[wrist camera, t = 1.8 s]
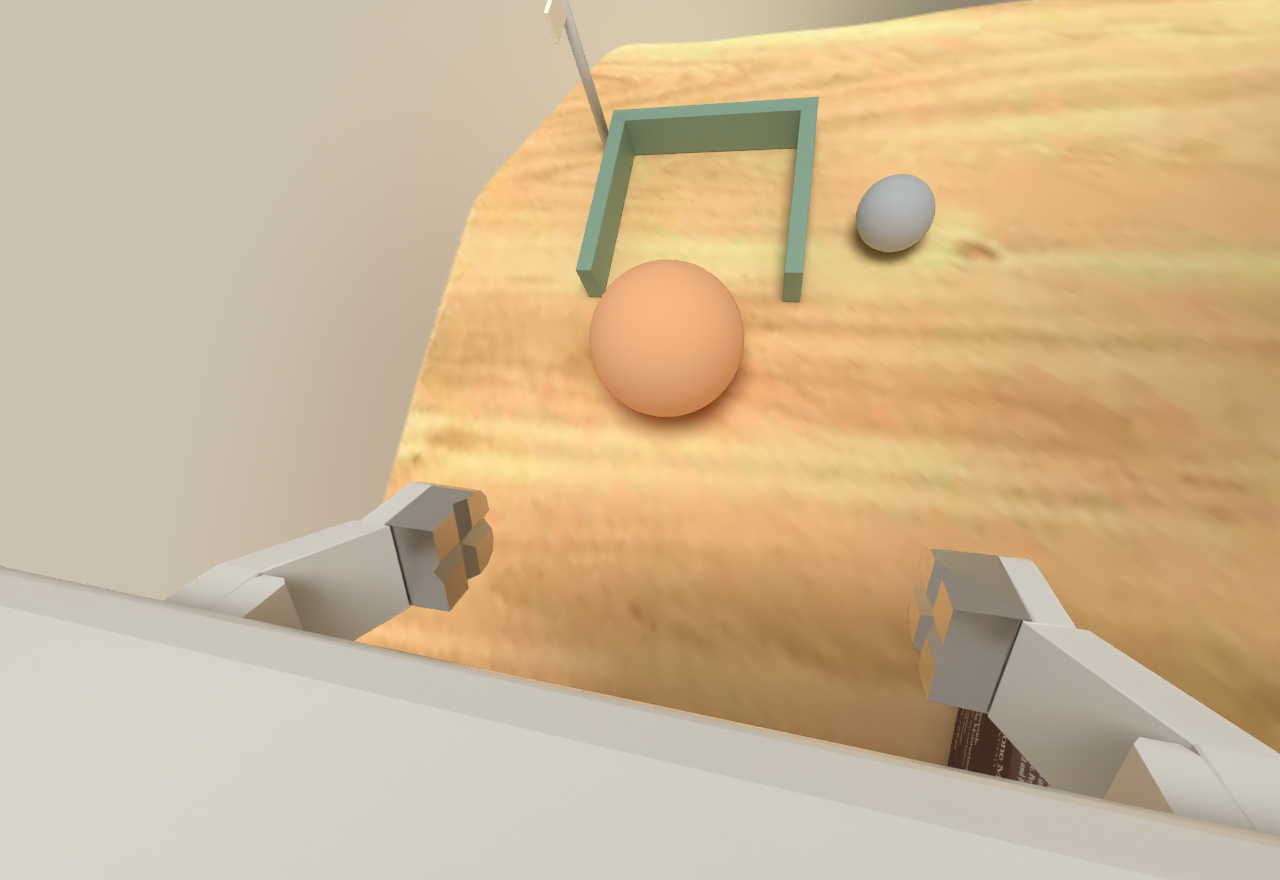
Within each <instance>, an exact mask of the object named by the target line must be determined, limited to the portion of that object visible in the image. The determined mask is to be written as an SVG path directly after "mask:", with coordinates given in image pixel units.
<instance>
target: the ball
mask: <svg viewBox="0 0 1280 880" xmlns="http://www.w3.org/2000/svg"><path fill="white" fill-rule="evenodd" d="M743 349H744V327H743V322H742V317H741V314H740V311H739V308H738V306H737V304H736V302H735V300H734V298H733V296H732V295H731V293H730V292H729V290H728V289H727V288H726V287H725V286H724V285H723V283H722V282H721V281H720V280H719V279H717V278H716V277H715V276H714V275H712V274H711V273H709V272H708V271H706V270H705V269H703V268H701V267H699V266H697V265H694V264H691V263H688V262H683V261H678V260H657V261H651V262H647V263H644V264H641V265H638V266H636V267H634V268H632V269H630V270H628V271H627V272H625V273H624V274H622V275H621V276H620V277H618V278H617V279H616V280H615V281H614V282H613V283H612V284H611V285H610V286H609V287H608V289H607V290H606V291H605V293H604V294H603V295H602V297H601V299H600V300H599V302H598V304H597V306H596V309H595V311H594V314H593V318H592V321H591V326H590V351H591V357H592V361H593V364H594V367H595V369H596V371H597V373H598V375H599V378H600V379H601V381H602V382H603V384H604V385H605V387H606V388H607V389H608V390H609V391H610V393H611V394H612V395H613V396H614V397H615V398H617V399H618V400H619V401H620V402H622V403H623V404H625V405H626V406H628V407H630V408H631V409H633V410H636V411H638V412H640V413H644V414H648V415H652V416H659V417H674V416H681V415H685V414H689V413H692V412H694V411H697V410H699V409H701V408H703V407H705V406H706V405H708V404H709V403H711V402H712V401H714V400H715V399H716V398H717V397H718V396H719V395H720V394H721V393H722V392H723V391H724V390H725V389H726V388H727V387H728V385H729V384H730V382H731V381H732V379H733V378H734V376H735V374H736V372H737V370H738V367H739V364H740V361H741V358H742V354H743Z"/></svg>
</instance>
